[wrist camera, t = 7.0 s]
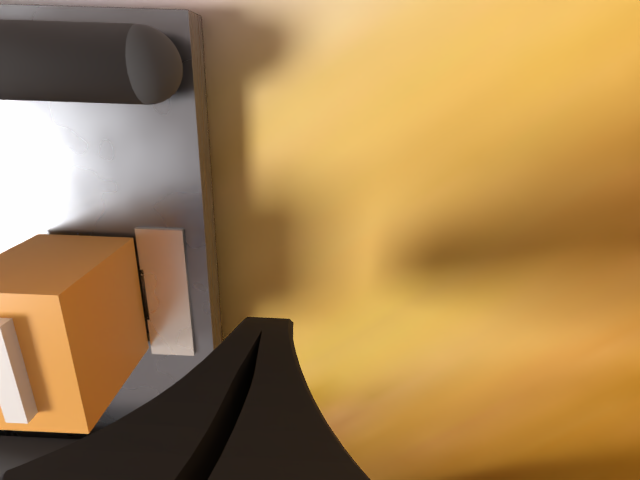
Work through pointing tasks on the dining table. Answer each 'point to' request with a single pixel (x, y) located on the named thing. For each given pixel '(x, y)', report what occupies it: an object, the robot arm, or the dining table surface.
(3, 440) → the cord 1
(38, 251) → the toggle
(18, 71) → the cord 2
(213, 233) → the panel
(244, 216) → the dining table surface
